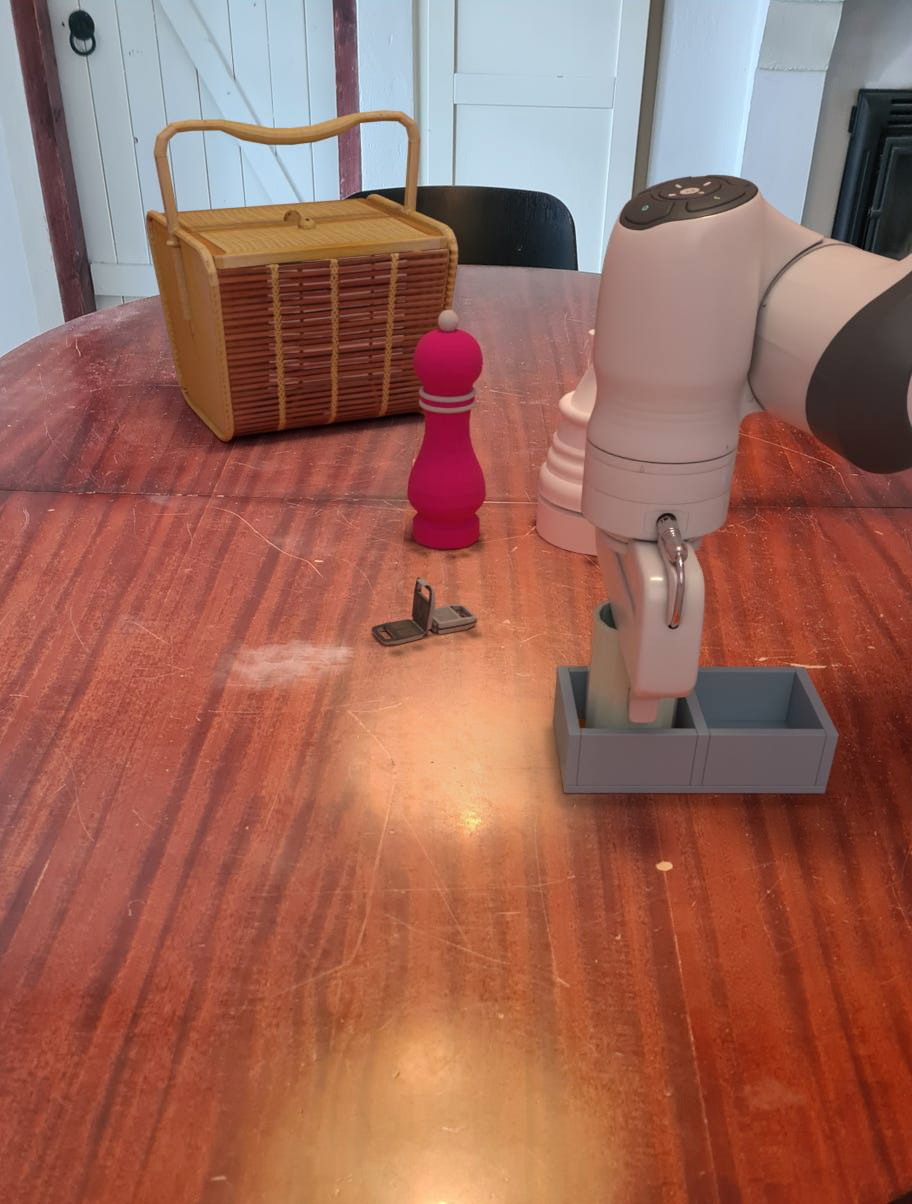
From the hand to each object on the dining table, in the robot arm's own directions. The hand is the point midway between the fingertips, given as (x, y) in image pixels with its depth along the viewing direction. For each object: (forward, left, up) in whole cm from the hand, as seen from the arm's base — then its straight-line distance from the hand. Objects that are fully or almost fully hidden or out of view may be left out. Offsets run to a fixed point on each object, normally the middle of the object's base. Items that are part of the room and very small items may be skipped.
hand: (633, 688), depth 82 cm
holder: (-4, 0, -5) cm, 7 cm away
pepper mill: (+12, -38, -6) cm, 40 cm away
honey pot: (-3, -40, -6) cm, 41 cm away
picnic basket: (+28, -75, -6) cm, 80 cm away
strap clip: (+14, -19, -6) cm, 24 cm away
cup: (0, 0, -4) cm, 4 cm away
